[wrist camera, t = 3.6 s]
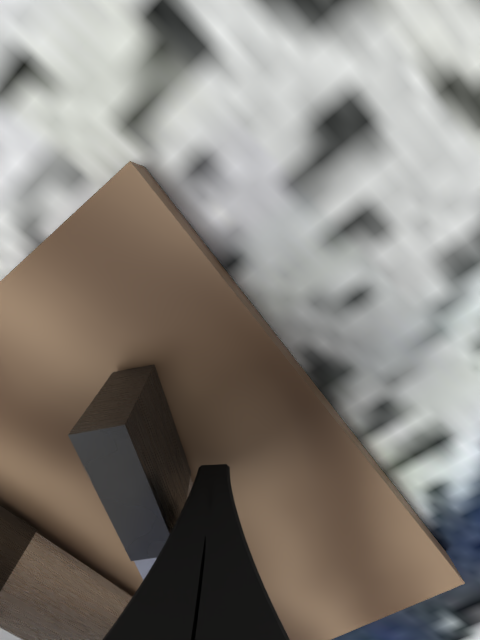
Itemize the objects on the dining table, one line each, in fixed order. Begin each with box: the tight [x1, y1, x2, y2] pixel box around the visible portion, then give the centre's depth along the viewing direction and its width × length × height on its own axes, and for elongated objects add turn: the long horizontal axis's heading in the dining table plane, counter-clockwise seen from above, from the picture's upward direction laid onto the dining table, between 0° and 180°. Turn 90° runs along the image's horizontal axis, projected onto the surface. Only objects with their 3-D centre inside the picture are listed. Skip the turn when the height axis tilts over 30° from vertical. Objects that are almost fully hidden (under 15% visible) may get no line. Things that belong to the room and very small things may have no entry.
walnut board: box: [0, 161, 465, 640], centre depth 15 cm, size 18×24×2 cm
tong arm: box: [68, 364, 193, 580], centre depth 13 cm, size 19×3×3 cm, turn 11°
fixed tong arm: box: [0, 505, 132, 640], centre depth 13 cm, size 15×2×3 cm, turn 37°
